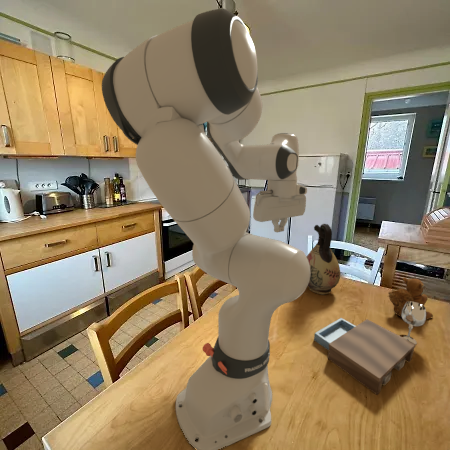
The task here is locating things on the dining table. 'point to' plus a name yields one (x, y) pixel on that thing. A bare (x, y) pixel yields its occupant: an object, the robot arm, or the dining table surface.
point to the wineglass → (413, 317)
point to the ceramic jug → (323, 263)
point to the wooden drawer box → (370, 354)
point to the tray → (332, 332)
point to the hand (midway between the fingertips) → (278, 231)
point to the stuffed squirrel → (409, 296)
